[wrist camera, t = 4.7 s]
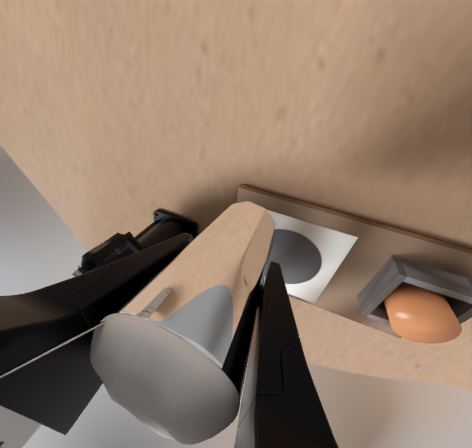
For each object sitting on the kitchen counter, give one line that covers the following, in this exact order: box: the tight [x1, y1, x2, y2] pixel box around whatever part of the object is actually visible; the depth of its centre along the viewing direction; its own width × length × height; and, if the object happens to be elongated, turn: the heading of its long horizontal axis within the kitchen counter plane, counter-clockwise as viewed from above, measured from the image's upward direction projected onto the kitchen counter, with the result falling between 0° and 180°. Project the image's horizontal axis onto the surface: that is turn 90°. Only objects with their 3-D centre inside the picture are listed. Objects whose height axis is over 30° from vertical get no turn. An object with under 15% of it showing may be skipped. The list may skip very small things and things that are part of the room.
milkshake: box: [0, 201, 275, 445], centre depth 8 cm, size 4×5×10 cm
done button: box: [384, 282, 462, 343], centre depth 18 cm, size 4×4×3 cm
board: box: [236, 185, 472, 338], centre depth 21 cm, size 22×13×3 cm, turn 82°
